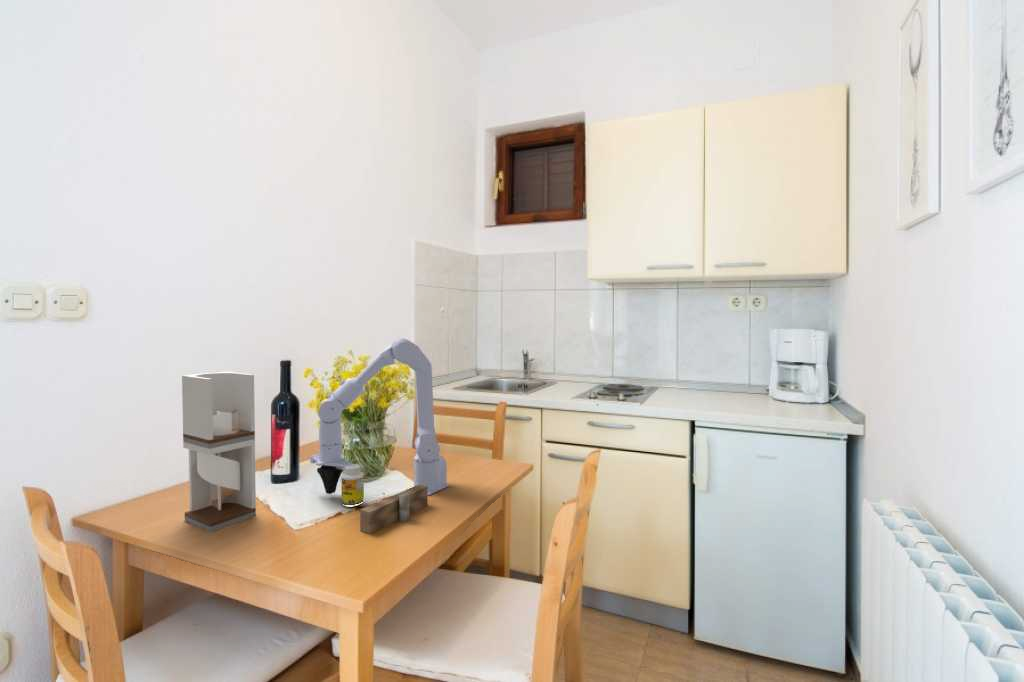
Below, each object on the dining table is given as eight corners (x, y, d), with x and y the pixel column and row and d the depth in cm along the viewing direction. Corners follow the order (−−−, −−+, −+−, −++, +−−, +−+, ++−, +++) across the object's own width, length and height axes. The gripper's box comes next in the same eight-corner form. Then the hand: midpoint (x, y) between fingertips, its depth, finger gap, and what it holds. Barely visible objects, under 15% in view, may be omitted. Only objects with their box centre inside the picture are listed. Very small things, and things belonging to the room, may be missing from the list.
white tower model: (184, 520, 114) (181, 375, 113) (229, 506, 123) (227, 371, 122) (210, 532, 108) (207, 379, 107) (255, 515, 118) (254, 374, 116)
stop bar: (418, 502, 127) (418, 480, 127) (434, 507, 124) (434, 484, 124) (360, 530, 110) (360, 505, 110) (377, 536, 107) (377, 510, 107)
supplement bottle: (336, 505, 125) (336, 467, 124) (353, 498, 129) (353, 461, 129) (351, 510, 122) (351, 470, 121) (368, 503, 127) (368, 465, 126)
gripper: (300, 442, 130) (300, 491, 130) (336, 450, 122) (336, 502, 123) (322, 437, 136) (322, 484, 136) (357, 444, 128) (358, 494, 129)
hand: (330, 492), depth 130 cm, fingers closed
